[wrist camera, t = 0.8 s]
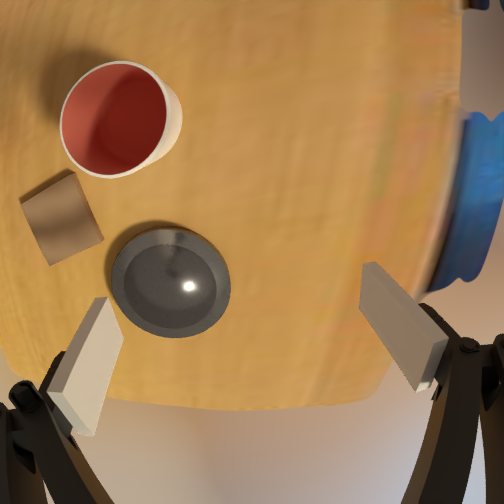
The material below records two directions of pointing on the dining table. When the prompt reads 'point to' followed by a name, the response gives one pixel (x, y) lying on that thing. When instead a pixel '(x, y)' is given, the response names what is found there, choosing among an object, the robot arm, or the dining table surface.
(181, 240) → the grey plate
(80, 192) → the oak coaster
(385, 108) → the dining table surface
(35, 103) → the dining table surface
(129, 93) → the cup
